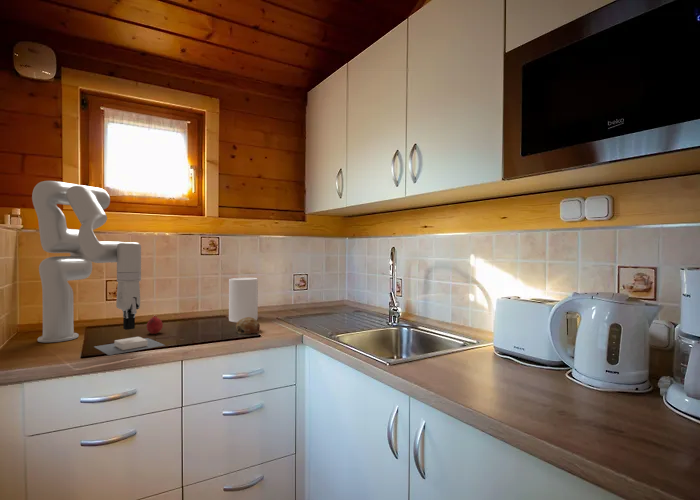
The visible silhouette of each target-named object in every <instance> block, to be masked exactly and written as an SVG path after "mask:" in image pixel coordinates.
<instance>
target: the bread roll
mask: <svg viewBox="0 0 700 500" xmlns="http://www.w3.org/2000/svg"><path fill="white" fill-rule="evenodd" d="M260 326H261V325H260V323H259V321H258V319H257V320H255V319H254V318H251V317H246V318H243V319H241V320H239V321H238V322H236V325H235V332H236V333H237V334H239V335H252V334H251V333H254V334H257V333H259V331H260V328H261V327H260Z"/></svg>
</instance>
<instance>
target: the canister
mask: <svg viewBox="0 0 700 500" xmlns="http://www.w3.org/2000/svg"><path fill="white" fill-rule="evenodd" d="M258 279H259V278H257V277H231V278H229V279H228V322H232V323H237V322H238V321H239V320H241V319H243V318H246V317H251V318H254V319H255V320H257V321H258V316H259V315H258V310H259V309H258V308H259V307H258V304H259V303H258V302H259V301H258V300H259V296H258V287H259V286H258V284H259V283H258V281H259V280H258Z"/></svg>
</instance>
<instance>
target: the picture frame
mask: <svg viewBox="0 0 700 500" xmlns="http://www.w3.org/2000/svg"><path fill="white" fill-rule="evenodd" d="M114 346H115V347H117V348H119V349H121V350H127V349H132V348H138V347H144V346H148V340H146V339H144V338H143V337H141V336H133V337H127V338H122V339H115V340H114Z"/></svg>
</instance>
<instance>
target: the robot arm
mask: <svg viewBox="0 0 700 500" xmlns="http://www.w3.org/2000/svg"><path fill="white" fill-rule="evenodd" d="M31 195H32V196H31V200H32V205H33V208H34V210H35V213H36V216H37V221H38V231H39V237H40V245H41V247H42V249H43V251H44V252H46V253H49V254H50V253H51V254H70V256H69V255H66V256H65V255H61V256H60V255H59V256H49V257H46V258H45V259H42V261H41V262H40V263H39V265H38V272H39V277H40V282H41V289H42V335H41V336H39V337H38V338H37V342H39V343H43V344H44V343H46V344H47V343H48V344H49V343H59V342H60V343H61V342H67V341H71V340H75V339H77V338H79V333H77V332H75V330H74V329H75V327H74V326H75V325H74V316H75V315H74V306H75V305H74V291H73V288H72V286H71V284H70V283H69V281H78V280H85V279H88V278H89V277H90V275H92V271H93V263H94V264H95V263H96V264H100V263H101V264H103V263H104V264H105V263H107V264H108V263H111V264H112V263H113V264H114V263H116V282H117V286H116V287H117V288H116V303H115V306H116V308H117V309H118V310H122V317H123V320H122V321H123V322H122V323H123V324H122V326H123V328H122V329H123V330H125V331H126V330H127V331H128V330H129V331H130V330H134V329H135V327H136V325H135V324H136V314H137V313H138V312H137V310H139V309H140V307H141V287H140V282H141V281H142V245H141V243H139V242H137V241H136V242H134V241H133V242H132V241H130V242H129V241H127V242H126V241H125V242H124V241H107V240H106V241H105V240H104V241H101V240H99V239H98V238H97V237H96V235H95V233H94V230H96V229H98V228H100V227H102V226H103V225H105V224H106V222H107V221H108V217H107V214H106V212H105V210H107V208H108V207H109V206H110V203H111V197H110V195H109V194H108V191H106V190H105V189H103V188H101V187H97V186H96V187H95V186H89V185H83V184H77V183H69V182H63V181H58V180H57V181H56V180H44V181H40V182H38V183H37V184H36V185H35V186H34V187H33V190H32V194H31ZM58 205H64V206H70V207H71V208H72V211H73V213H74V214H75V216H76V218H77V220H78V221H79V222H80V224H81V225H80V227H79V229H75V228H68V227H67V220H66V216H65V214H64V213H63V211H62V209H61V208H60V207H58Z"/></svg>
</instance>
